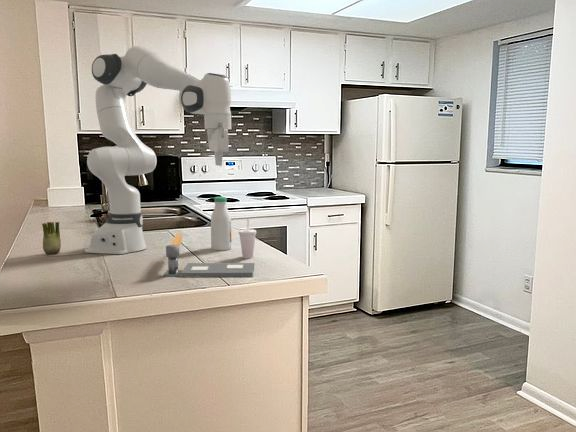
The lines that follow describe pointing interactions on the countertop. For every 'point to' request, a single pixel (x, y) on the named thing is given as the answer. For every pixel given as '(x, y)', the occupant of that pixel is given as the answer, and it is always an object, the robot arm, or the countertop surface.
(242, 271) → the tray
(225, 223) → the milk bottle
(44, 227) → the fennel bulb
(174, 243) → the strip
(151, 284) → the countertop surface
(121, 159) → the robot arm
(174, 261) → the pivot post
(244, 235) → the smoothie
